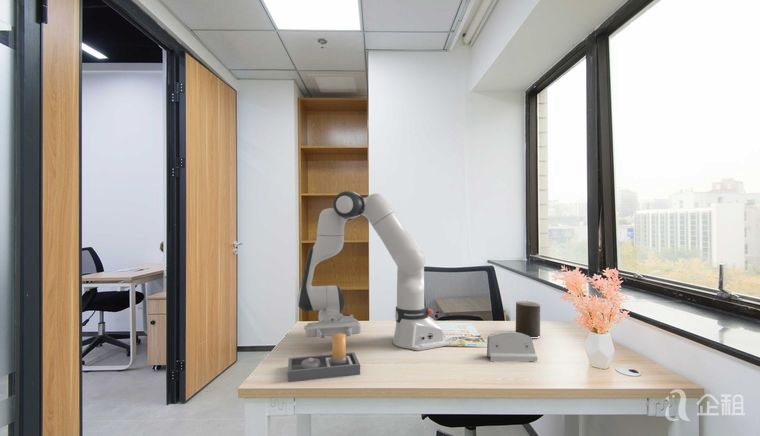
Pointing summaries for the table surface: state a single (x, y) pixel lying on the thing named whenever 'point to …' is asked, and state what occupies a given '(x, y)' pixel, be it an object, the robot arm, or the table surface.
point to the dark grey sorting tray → (321, 367)
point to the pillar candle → (528, 318)
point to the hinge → (510, 347)
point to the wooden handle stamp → (338, 349)
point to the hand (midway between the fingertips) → (335, 335)
